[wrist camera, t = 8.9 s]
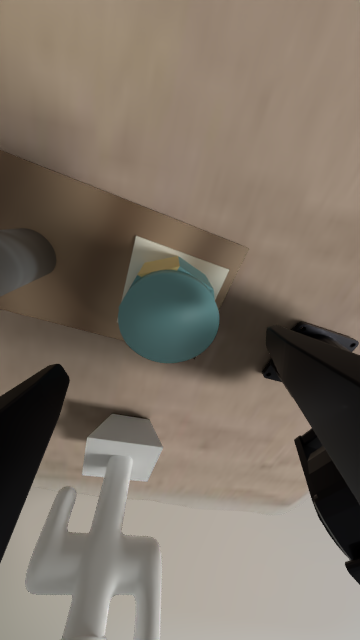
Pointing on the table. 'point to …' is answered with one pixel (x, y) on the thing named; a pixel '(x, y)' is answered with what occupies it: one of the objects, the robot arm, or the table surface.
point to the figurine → (103, 538)
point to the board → (89, 248)
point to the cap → (169, 312)
